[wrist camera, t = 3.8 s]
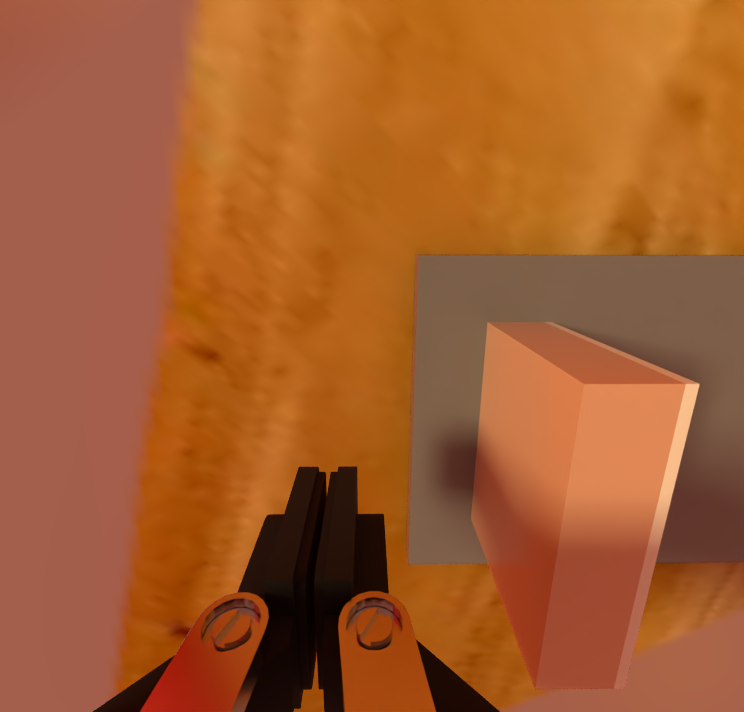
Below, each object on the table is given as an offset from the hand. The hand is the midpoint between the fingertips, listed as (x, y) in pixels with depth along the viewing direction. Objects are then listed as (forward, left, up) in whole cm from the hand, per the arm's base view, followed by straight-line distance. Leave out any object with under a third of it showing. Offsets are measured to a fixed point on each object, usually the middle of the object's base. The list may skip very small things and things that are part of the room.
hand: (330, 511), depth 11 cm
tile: (-7, 0, -5) cm, 9 cm away
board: (-12, 0, -6) cm, 14 cm away
